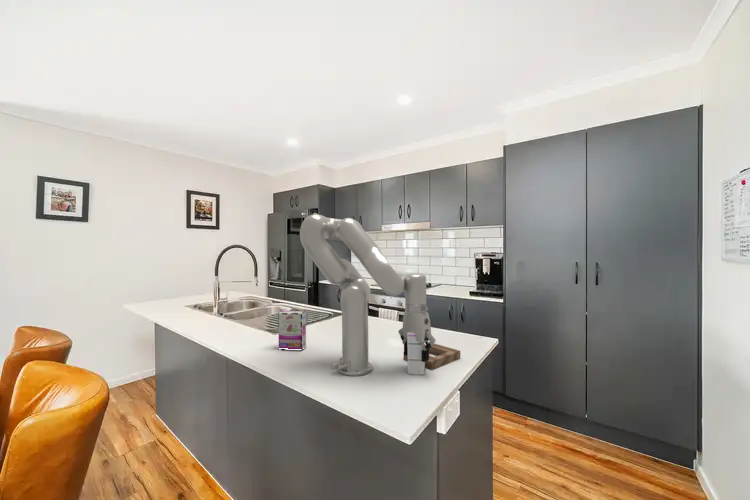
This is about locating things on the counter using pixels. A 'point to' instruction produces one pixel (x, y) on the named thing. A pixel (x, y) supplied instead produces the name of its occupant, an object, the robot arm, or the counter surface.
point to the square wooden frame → (440, 356)
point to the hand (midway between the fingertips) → (416, 357)
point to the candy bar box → (292, 329)
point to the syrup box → (414, 355)
